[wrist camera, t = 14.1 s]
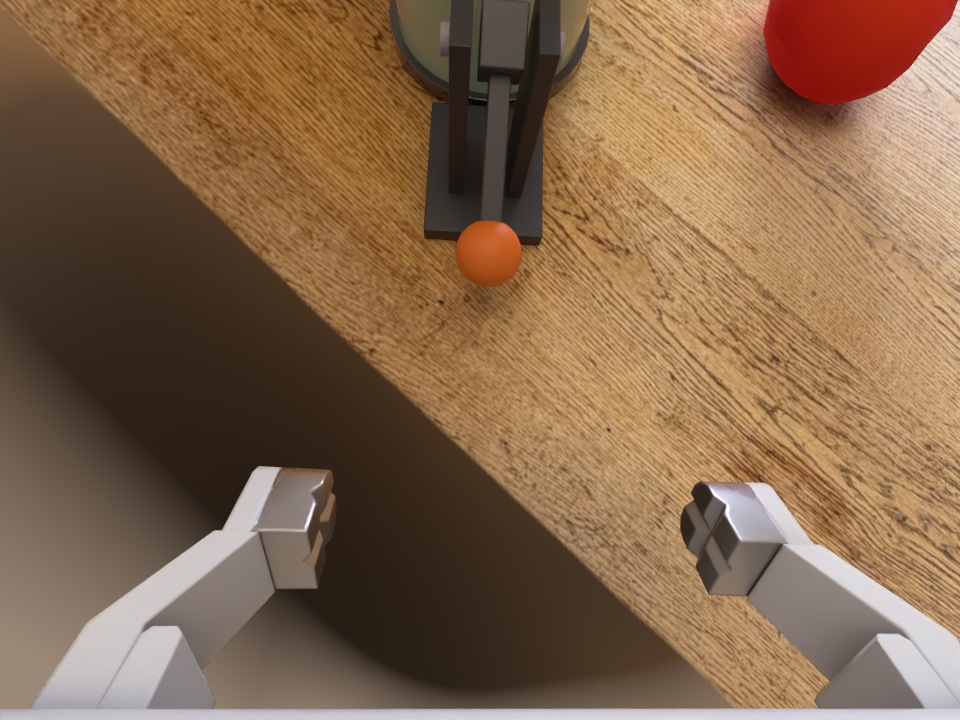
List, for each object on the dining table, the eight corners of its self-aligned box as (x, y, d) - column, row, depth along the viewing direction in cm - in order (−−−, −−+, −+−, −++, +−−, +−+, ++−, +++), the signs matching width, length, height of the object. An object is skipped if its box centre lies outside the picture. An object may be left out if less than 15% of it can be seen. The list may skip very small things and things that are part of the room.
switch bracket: (539, 245, 33) (595, 112, 20) (424, 238, 32) (409, 96, 20) (539, 122, 35) (591, -68, 22) (432, 113, 34) (424, -86, 22)
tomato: (849, 3, 39) (986, -152, 29) (881, 134, 37) (1043, 12, 27) (722, -2, 38) (819, -164, 28) (746, 131, 36) (861, 5, 26)
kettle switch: (514, 285, 28) (522, 292, 24) (454, 281, 27) (453, 288, 24) (535, 30, 24) (547, -4, 21) (466, 23, 24) (467, -12, 20)
